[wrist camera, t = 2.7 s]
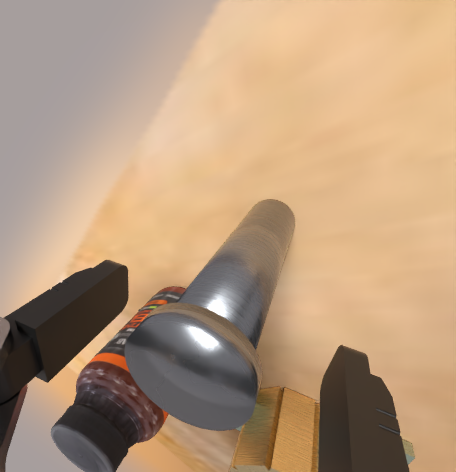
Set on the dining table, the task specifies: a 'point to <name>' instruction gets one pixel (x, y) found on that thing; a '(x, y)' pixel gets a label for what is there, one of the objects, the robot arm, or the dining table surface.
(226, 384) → the steel pin
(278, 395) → the hinge body
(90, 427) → the supplement bottle
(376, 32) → the dining table surface
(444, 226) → the dining table surface
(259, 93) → the dining table surface
